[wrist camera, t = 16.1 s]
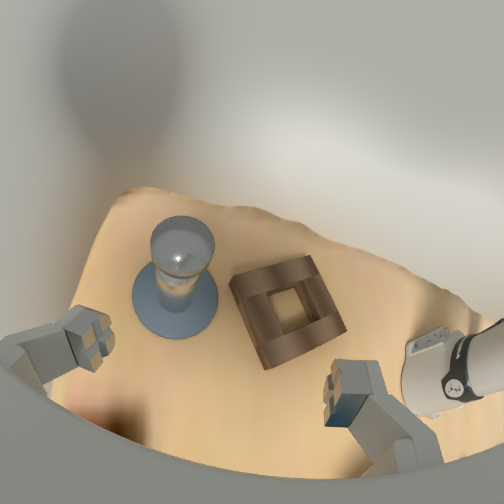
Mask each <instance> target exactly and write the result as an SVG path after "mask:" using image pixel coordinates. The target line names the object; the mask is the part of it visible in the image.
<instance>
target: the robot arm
mask: <svg viewBox="0 0 504 504" xmlns="http://www.w3.org/2000/svg"><path fill="white" fill-rule="evenodd" d="M111 324H112V323H111V319H110V316H108V315H107V314H105V313H102V312H99V311H96V310H93V309H91V308H87V307H84V306H82V305H75V306H74V307H73V308H72V309H71V310H69V311H68V312H67V313H66V314H65V315H63V316H62V317H61V318H60V319H59V320H58V321H56V322H55V323H54V324H51V323H50V324H46V325H43V326H40V327H36V328H33V329H29V330H26V331H22V332H19V333H15V334H11V335H8V336H6V337H5V338H3V339H2V340H1V341H0V504H504V443H502V444H499V445H497V446H495V447H492V448H490V449H487V450H485V451H482V452H479V453H476V454H474V455H471V456H468V457H465V458H462V459H458V460H455V461H452V462H448V463H444V460H443V457H442V453H441V450H440V446H439V443H438V439H437V436H436V433H434V432H433V431H432V430H431V429H430V428H429V427H428V426H426V425H425V424H424V423H423V422H422V421H421V420H420V419H419V418H417V417H416V416H415V415H417V416H429V417H430V418H432V419H434V418H437V417H438V416H439V415H440V413H443V412H447V411H451V410H454V409H458V408H461V407H463V406H464V404H465V403H467V402H474V401H476V400H479V399H481V398H483V397H484V396H485V395H489V394H492V393H496V392H499V391H502V390H504V322H502V323H500V324H499V325H497V326H495V327H493V328H491V329H490V330H488V331H486V332H483V333H480V334H479V335H478V334H474V335H472V334H471V335H467V336H465V335H464V334H463V333H462V332H461V331H458V330H457V331H454V332H452V333H449V330H448V328H446V329H445V328H444V327H439V328H437V329H435V330H433V331H431V332H429V333H427V334H425V335H423V336H421V337H419V338H417V339H415V340H413V341H411V342H409V343H407V345H406V361H405V365H404V368H403V372H402V394H403V398H404V401H405V404H406V406H407V408H408V409H409V410H408V409H407V408H406V407H405V406H404V405H403V404H402V403H401V402H399V401H398V400H397V399H396V398H395V397H394V396H393V395H388V393H387V389H386V386H385V382H384V379H383V376H382V372H381V369H380V366H379V363H378V361H377V360H363V361H362V360H348V359H334V361H333V363H332V365H331V374H330V375H328V376H327V378H326V381H325V385H324V390H323V401H324V403H325V404H326V407H325V410H324V426H325V427H345V428H348V429H349V431H350V432H351V434H352V435H353V436H354V438H355V439H356V440H357V442H358V443H359V445H360V446H361V447H362V449H363V450H364V452H365V453H366V454H367V456H368V457H369V458H370V460H371V461H372V462H373V465H372V466H371V467H370V468H369V469H368V470H367V471H366V472H365V473H364V474H362V475H361V478H346V479H304V478H287V477H275V476H266V475H258V474H251V473H245V472H239V471H233V470H228V469H223V468H218V467H213V466H209V465H205V464H201V463H197V462H193V461H189V460H186V459H182V458H179V457H175V456H172V455H169V454H166V453H163V452H160V451H157V450H154V449H151V448H148V447H146V446H143V445H140V444H138V443H135V442H133V441H130V440H128V439H126V438H123V437H121V436H119V435H116V434H114V433H112V432H110V431H107V430H105V429H103V428H101V427H99V426H97V425H95V424H93V423H91V422H89V421H87V420H85V419H83V418H82V417H80V416H78V415H76V414H74V413H73V412H71V411H69V410H67V409H66V408H64V407H62V406H61V405H59V404H57V403H56V402H54V401H52V400H51V399H49V398H48V397H47V392H46V390H45V388H44V387H43V384H45V383H47V382H49V381H52V380H54V379H56V378H58V377H59V376H61V375H63V374H65V373H67V372H69V371H71V370H73V369H75V368H77V367H78V366H79V367H81V368H84V369H86V370H88V371H91V372H93V373H95V372H96V370H97V369H98V368H99V367H100V365H101V364H102V363H103V357H105V356H108V355H109V354H110V353H111V352H112V350H113V348H114V345H115V336H114V333H113V331H112V330H111V328H110V326H111Z"/></svg>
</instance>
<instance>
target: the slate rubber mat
mask: <svg viewBox="0 0 504 504" xmlns="http://www.w3.org/2000/svg"><path fill="white" fill-rule="evenodd" d="M132 300H133V305H134V309H135V312H136V314H137V316H138V318H139V319H140V321H141V322H142V323H143V325H144V326H145V327H146V328H148V329H149V330H150V331H151V332H153V333H155V334H156V335H159V336H161V337H164V338H168V339H185V338H189V337H192V336H194V335H196V334H198V333H200V332H201V331H202V330H204V329H205V328H206V327H207V326H208V324H209V323H210V322H211V320H212V319H213V317H214V315H215V312H216V310H217V305H218V293H217V288H216V285H215V283H214V280H213V279H212V277H211V275H210V274H209V273H208V272H207V271H206V270H205V271H203V272H202V273H201V275H200V278H199V281H198V284H197V287H196V290H195V293H194V296H193V300H192V302H191V304H190V306H189V307H188V308H187V309H186V310H184V311H182V312H177V313H173V312H169V311H167V310H165V309H164V308H162V306H161V305H160V304H159V302H158V299H157V287H156V265H155V264H154V262H151V263H149V264H148V265H147V266H145V267H144V268H143V269H142V270H141V272H140V273H139V274H138V276H137V278H136V280H135V283H134V286H133V292H132Z"/></svg>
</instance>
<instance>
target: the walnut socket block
mask: <svg viewBox="0 0 504 504" xmlns="http://www.w3.org/2000/svg"><path fill="white" fill-rule="evenodd" d="M229 286H230V289H231V291H232V294H233V296H234V299H235V301H236V304H237V306H238V309H239V311H240V313H241V316H242V318H243V321H244V323H245V325H246V328H247V330H248V333H249V335H250V337H251V340H252V342H253V344H254V347H255V349H256V351H257V354H258V356H259V358H260V361H261V363H262V365H263V367H264V370H267V369H271V368H274V367H276V366H278V365H281V364H283V363H285V362H287V361H289V360H291V359H294V358H296V357H298V356H300V355H302V354H304V353H306V352H308V351H310V350H312V349H314V348H316V347H318V346H320V345H322V344H324V343H326V342H328V341H330V340H332V339H334V338H335V337H337V336H339V335H341V334H343V333H345V332H346V331H347V329H346V327H345V325H344V323H343V321H342V319H341V317H340V314H339V312H338V310H337V308H336V306H335V304H334V302H333V300H332V298H331V296H330V294H329V292H328V290H327V288H326V286H325V284H324V282H323V280H322V278H321V276H320V274H319V272H318V270H317V268H316V266H315V264H314V262H313V260H312V258H311V256H310V255H308V256H305V257H301V258H297V259H294V260H290V261H287V262H283V263H279V264H276V265H272V266H268V267H265V268H261V269H257V270H254V271H250V272H246V273H243V274H239V275H235V276H233V278H232V279H231V281H230V283H229ZM293 287H294V288H295V290H296V292H297V294H298V296H299V299H300V301H301V303H302V305H303V307H304V309H305V311H306V314H307V316H308V318H309V320H310V322H311V324H309V325H306V326H304V327H302V328H300V329H297V330H295V331H293V332H290V333H288V334H286V335H284V333H283V330H282V328H281V326H280V324H279V321H278V319H277V317H276V315H275V312H274V310H273V308H272V306H271V303H270V301H269V299H268V297H267V296H269V295H272V294H275V293H278V292H281V291H284V290H287V289H290V288H293Z"/></svg>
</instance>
